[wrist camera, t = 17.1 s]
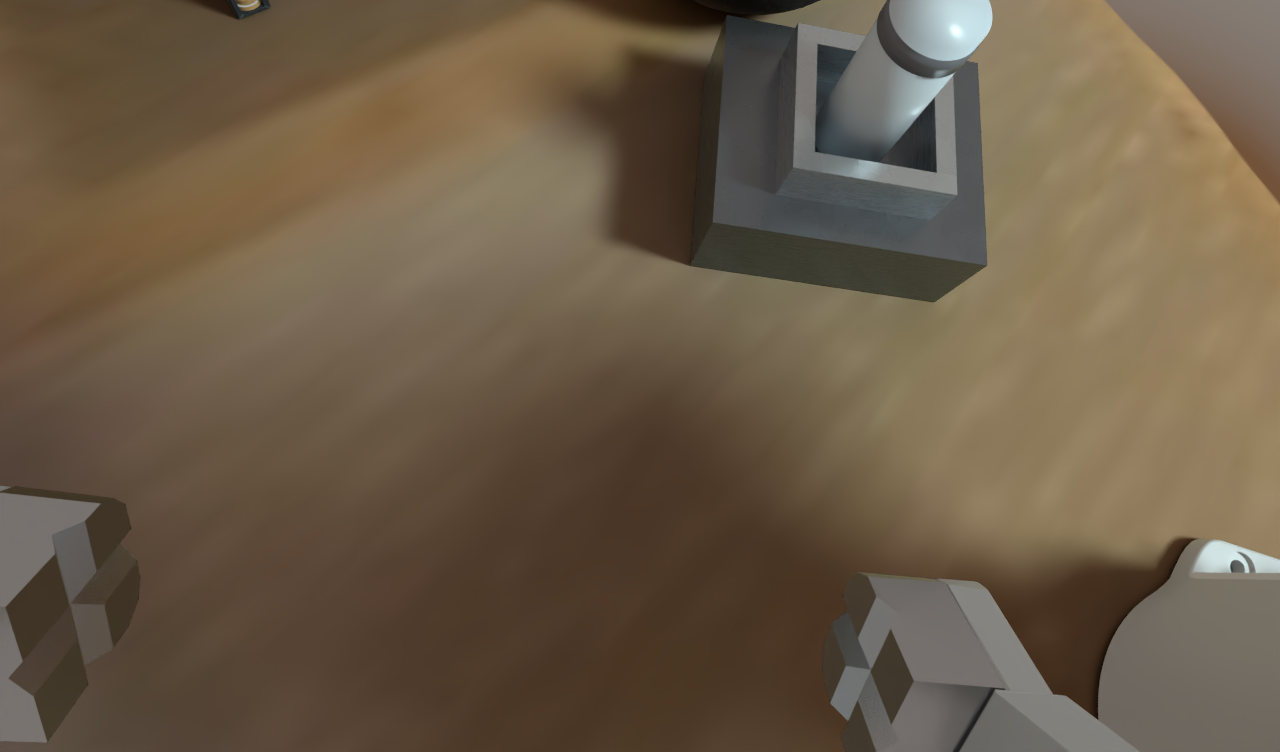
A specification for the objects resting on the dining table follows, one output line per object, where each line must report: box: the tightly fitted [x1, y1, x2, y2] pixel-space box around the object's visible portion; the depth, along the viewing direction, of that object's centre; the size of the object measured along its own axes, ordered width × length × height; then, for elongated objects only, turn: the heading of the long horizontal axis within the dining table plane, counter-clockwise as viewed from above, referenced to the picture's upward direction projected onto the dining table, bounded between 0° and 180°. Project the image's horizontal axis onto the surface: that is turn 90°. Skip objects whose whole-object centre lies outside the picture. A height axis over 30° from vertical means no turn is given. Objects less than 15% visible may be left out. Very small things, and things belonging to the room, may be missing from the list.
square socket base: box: [690, 15, 987, 302], centre depth 40 cm, size 14×12×8 cm
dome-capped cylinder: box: [815, 0, 992, 163], centre depth 34 cm, size 4×4×9 cm
